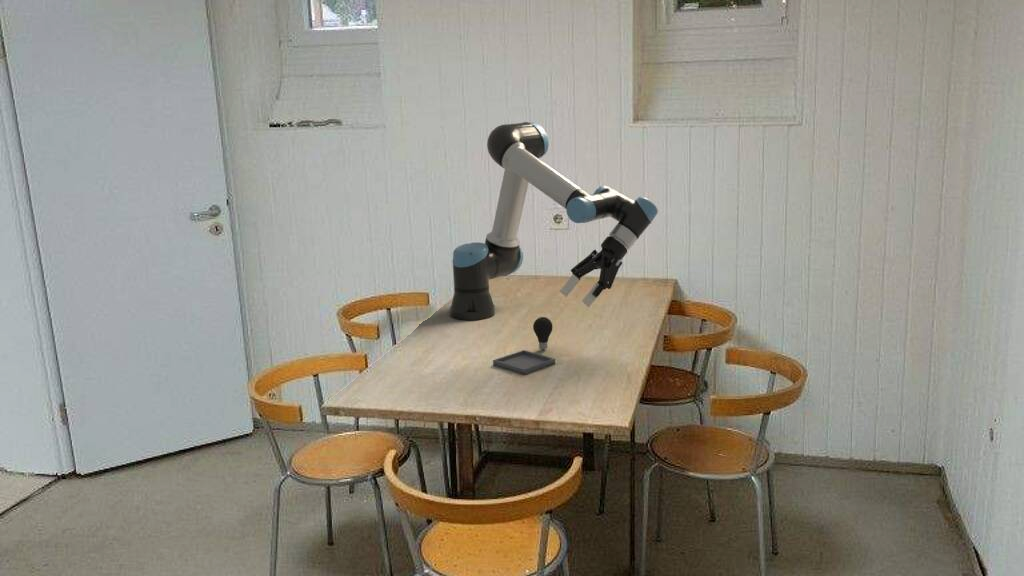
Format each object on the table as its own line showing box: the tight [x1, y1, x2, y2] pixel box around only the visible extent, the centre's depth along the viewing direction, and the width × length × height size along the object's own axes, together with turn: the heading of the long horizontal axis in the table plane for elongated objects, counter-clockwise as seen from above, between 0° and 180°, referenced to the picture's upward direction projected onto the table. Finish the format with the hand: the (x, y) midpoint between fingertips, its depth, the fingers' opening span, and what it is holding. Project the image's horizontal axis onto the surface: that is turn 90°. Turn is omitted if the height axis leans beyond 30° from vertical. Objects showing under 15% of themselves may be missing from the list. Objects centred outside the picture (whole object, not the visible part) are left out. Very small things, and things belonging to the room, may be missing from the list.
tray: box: [492, 349, 556, 376], centre depth 252 cm, size 12×12×2 cm
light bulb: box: [532, 316, 553, 352], centre depth 264 cm, size 6×6×10 cm
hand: (573, 299), depth 265 cm, fingers open, 13 cm apart
